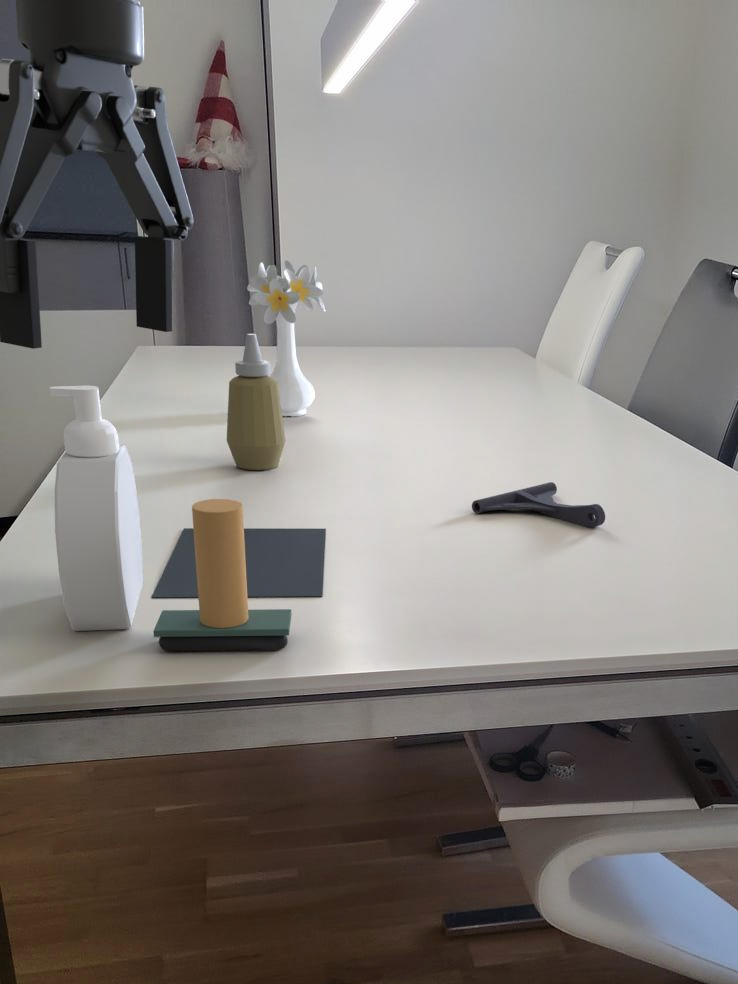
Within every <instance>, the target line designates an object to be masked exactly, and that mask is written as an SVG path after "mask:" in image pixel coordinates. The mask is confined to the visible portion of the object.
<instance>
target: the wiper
mask: <svg viewBox="0 0 738 984" xmlns="http://www.w3.org/2000/svg"><path fill="white" fill-rule="evenodd" d="M191 514H192V527H193V529H194V543H195V557H196V570H197V584H198V598H197V599H198V609H171V610H170V609H168V610H167V609H165V610H164V609H162V610H161V612H160V614H159V617H158V619H157V621H156V624H155V626H154V628H153V637H154V638H158V645H159V648H160V649H161V650H163V651H165V652H215V651H217V652H218V651H222V652H223V651H224V652H225V651H229V652H230V651H280V650H283V649H285V648H286V647H287V644H288V641H289V640H288V636H290V630H291V623H292V614H293V613H292V608H291V609H290V608H289V609H288V608H286V609H285V608H281V609H280V608H279V609H274V608H273V609H270V608H269V609H249V602H248V601H249V600H248V598H249V597H247V580H246V561H245V542H244V528H245V525H244V523H245V522H244V507H243V503H242V502H240V501H238V500H234V499H229V498H211V499H204V500H203V499H202V500H200V501H197V502H194V503H193V504H192V505H191Z"/></svg>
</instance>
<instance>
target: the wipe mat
mask: <svg viewBox="0 0 738 984" xmlns="http://www.w3.org/2000/svg"><path fill="white" fill-rule="evenodd" d="M326 531H327V528H279V527H278V528H267V527H266V528H265V527H264V528H260V527H259V528H257V527H256V528H252V527H251V528H249V527H247V528H245V527H244V542H245V561H246V580H247V598H323V595H324V593H323V592H324V573H325V553H326V552H325V551H326V536H327V535H326V533H327V532H326ZM151 599H199V598H198V584H197V570H196V557H195V543H194V529H193V528H191V527H190V528H189V527H187V528H186V527H185V528H183V529H182V532H181V534H180V535H179V538H178V540H177V542H176V544H175V546H174V549H173V550H172V553H171V555H170V557H169V558H168V561H167V563H166V565H165V568H164V569H163V571H162V573H161V576H160V578H159V580H158V581H157V584H156V586H155V589H154V591H153V592H152V595H151Z"/></svg>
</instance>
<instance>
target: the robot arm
mask: <svg viewBox="0 0 738 984" xmlns="http://www.w3.org/2000/svg"><path fill="white" fill-rule="evenodd" d="M15 11H16V12H15V13H16V30H17V40H18V42H19V44H20V45H21V47H22V48H23V49H25V50H27V51H29V56H30V58H29V60H21V59H10V58H0V343H3V344H8V345H13V346H17V347H22V348H23V347H24V348H28V349H33V350H35V349H42V348H43V345H42V343H43V342H42V325H41V310H40V309H41V308H40V291H39V289H40V288H39V276H38V275H39V273H38V259H37V241H36V240H33V239H26V238H23V237H24V235H25V233H26V232H27V230H28V228H29V226H30V225H31V222H32V221H33V219H34V217H35V215H36V213H37V211H38V210H39V208H40V205H41V204H42V202H43V200H44V198H45V196H46V194H47V193H48V191H49V189H50V187H51V185H52V183H53V181H54V179H55V177H56V176H57V174H58V171H59V169H61V166H62V164H63V162H64V161H65V159H66V158H67V157H68V156H71V155H73V154H74V153H75V152H76V151H77V150H79V151H85V152H95V154H97V155H98V157H100V158H102V159H104V160H105V162H106V164H107V165H108V168H109V169H110V171H111V173H112V175H113V178H114V179H115V181H116V183H117V185H118V186H119V188H120V190H121V192H122V194H123V196H124V198H125V200H126V201H127V203H128V206H129V207H130V209H131V211H132V213H133V215H134V216H135V218H136V221H137V222H138V224H139V226H140V228H141V230H142V232H143V233H144V235H134V268H135V269H134V270H135V271H134V273H135V315H136V316H135V317H136V318H135V321H136V327H137V328H142V329H148V330H153V331H159V332H164V333H169V332H173V282H174V277H175V269H174V268H175V263H174V262H175V252H174V251H175V240H176V241H185V240H186V239H187V238H188V236H189V235H188V234H189V231H190V230H192V229H193V228H194V224H195V223H194V222H195V220H194V216H193V212H192V208H191V204H190V201H189V197H188V193H187V190H186V187H185V183H184V180H183V176H182V173H181V169H180V165H179V161H178V158H177V154H176V151H175V147H174V144H173V139H172V136H171V132H170V128H169V126H168V117H167V115H168V114H167V105H166V104H167V103H166V94H165V91H164V90H163V88H161V87H157V86H149V85H148V86H147V85H140V84H139V85H137V84H134V83H133V79H132V77H133V76H132V70H133V68H134V67H136V66H137V67H138V66H140V65H142V63H143V62H144V59H145V29H144V26H145V25H144V7H143V5H141V2H140V0H15ZM171 208H174V209H175V210H172V209H171Z"/></svg>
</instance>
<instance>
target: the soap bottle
mask: <svg viewBox="0 0 738 984" xmlns="http://www.w3.org/2000/svg"><path fill="white" fill-rule="evenodd" d="M49 392H50V393H49V394H50V397H62V398H63V397H66V398H73V402H74V404H73V405H74V412H75V419H73V420H71V421H70V422H69V423H67V425H66V426H65V428H64V430H63V444H64V445H63V446H64V453H63V454H62V455H61V457H60V459H59V460H58V462H57V463H56V472H55V481H54V483H55V484H54V535H55V545H56V556H57V567H58V576H59V581H60V587H61V592H62V593H61V594H62V600H63V605H64V609H65V612H66V616H67V618H68V622H69V626H70V628H71V630H72V631H73V632H87V631H89V632H90V631H115V630H130V629H131V628H132V626H133V622H134V618H135V614H136V612H137V607H138V603H139V599H140V595H141V593H142V588H143V585H144V573H143V572H144V570H143V569H144V568H143V567H144V566H143V547H142V546H143V545H142V544H143V543H142V533H141V532H142V531H141V517H140V510H139V509H140V507H139V501H138V492H137V484H136V478H135V473H134V468H133V462H132V459H131V456H130V453H129V451H128V447H126V446H125V445H124V444H120V443H119V442H120V441H119V440H120V439H119V434H118V431H117V428H115V426H114V425H113V423H111V422H110V421H109V420H107V419H104V418H102V409H101V401H100V400H101V398H100V389H99V386H96V385H61V386H59V385H58V386H55V385H54V386H49Z"/></svg>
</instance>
